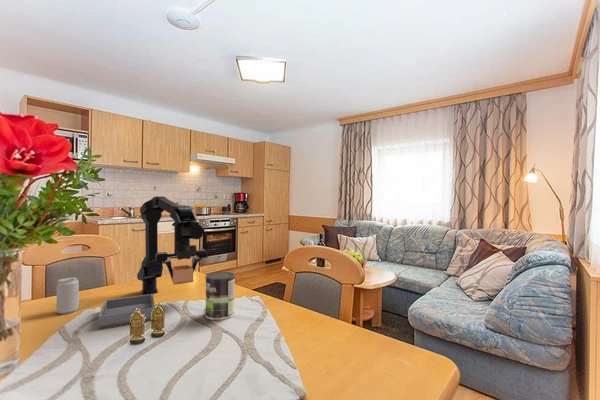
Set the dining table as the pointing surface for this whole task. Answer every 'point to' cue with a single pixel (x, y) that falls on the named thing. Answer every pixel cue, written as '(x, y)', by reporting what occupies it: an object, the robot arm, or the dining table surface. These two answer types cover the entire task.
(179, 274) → the small crate
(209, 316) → the coffee can
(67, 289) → the beverage can
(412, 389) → the dining table surface
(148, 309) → the big crate
